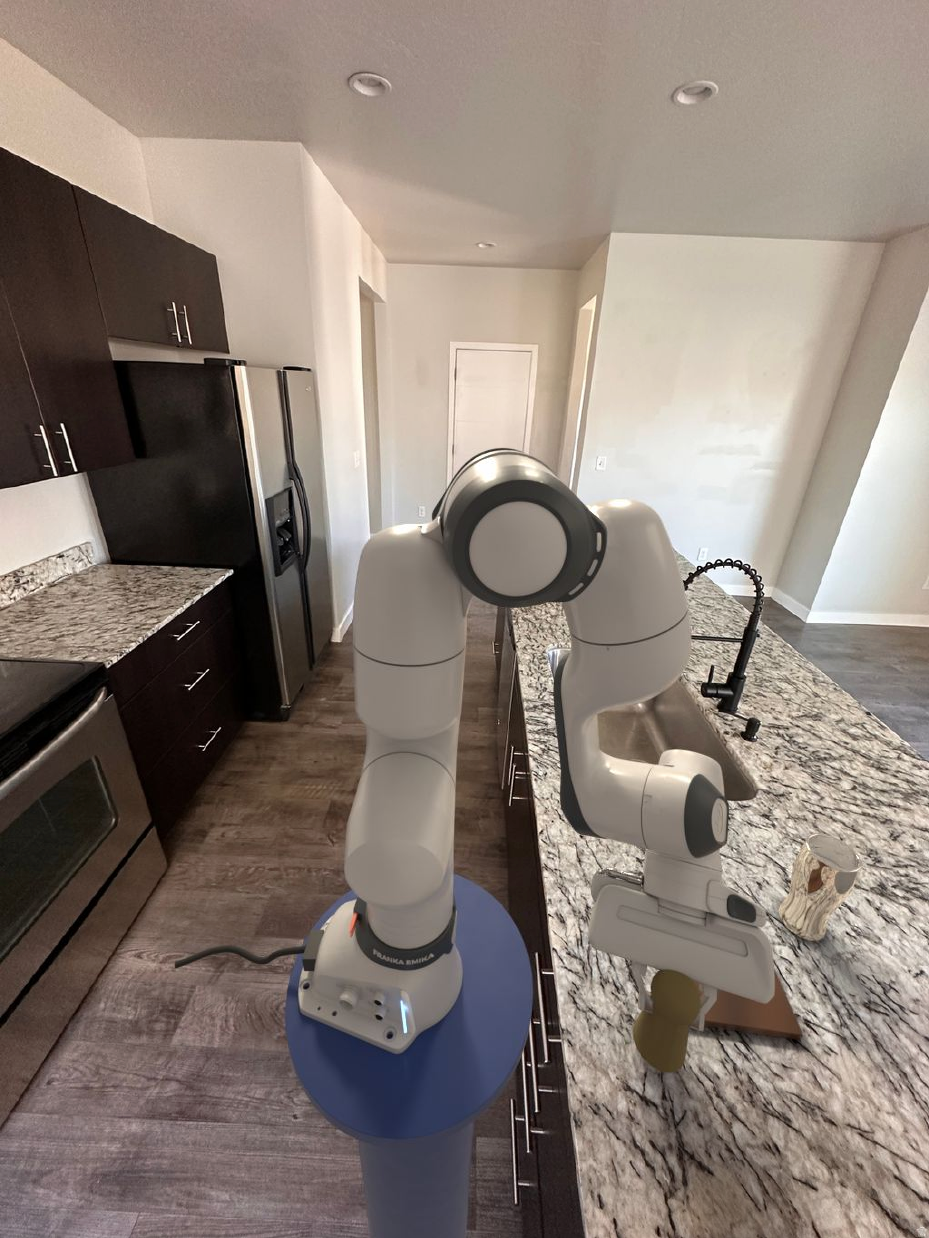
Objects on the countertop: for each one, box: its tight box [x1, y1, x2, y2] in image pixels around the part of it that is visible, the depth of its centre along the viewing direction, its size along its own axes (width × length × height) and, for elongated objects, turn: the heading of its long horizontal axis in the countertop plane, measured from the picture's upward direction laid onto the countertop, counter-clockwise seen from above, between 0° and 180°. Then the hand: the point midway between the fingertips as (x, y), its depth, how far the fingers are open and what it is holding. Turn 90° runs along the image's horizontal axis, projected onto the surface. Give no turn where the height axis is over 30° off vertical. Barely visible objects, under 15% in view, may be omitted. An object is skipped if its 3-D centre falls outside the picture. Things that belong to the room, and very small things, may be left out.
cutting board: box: [693, 969, 804, 1041], centre depth 67 cm, size 14×12×1 cm
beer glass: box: [778, 832, 863, 942], centre depth 72 cm, size 7×7×15 cm
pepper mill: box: [632, 969, 701, 1074], centre depth 56 cm, size 6×6×11 cm
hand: (669, 1018), depth 56 cm, fingers closed on pepper mill, 4 cm apart
